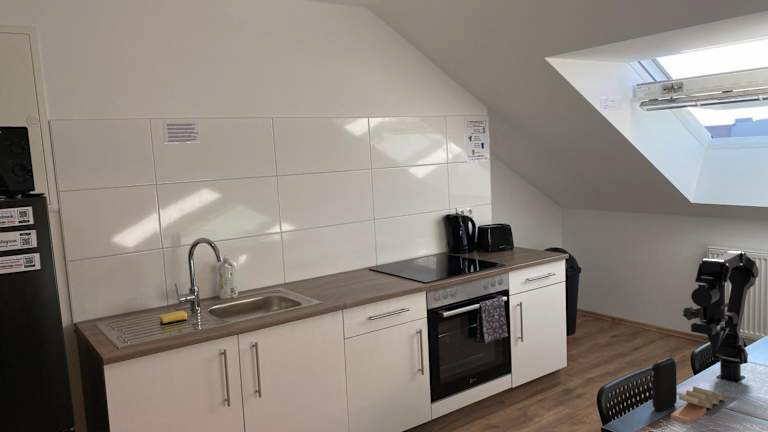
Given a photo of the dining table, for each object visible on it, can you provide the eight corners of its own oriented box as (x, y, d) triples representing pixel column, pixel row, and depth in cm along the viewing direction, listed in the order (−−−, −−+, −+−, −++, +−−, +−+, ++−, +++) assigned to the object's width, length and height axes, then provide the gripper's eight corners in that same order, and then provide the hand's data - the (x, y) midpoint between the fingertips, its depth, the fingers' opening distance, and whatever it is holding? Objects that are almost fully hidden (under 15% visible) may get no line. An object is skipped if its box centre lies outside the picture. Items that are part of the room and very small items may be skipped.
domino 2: (688, 402, 172) (670, 414, 166) (706, 407, 168) (688, 419, 162) (688, 407, 173) (670, 419, 167) (706, 412, 169) (689, 425, 163)
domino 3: (701, 394, 177) (686, 389, 171) (719, 399, 173) (704, 394, 167) (700, 399, 177) (685, 395, 171) (718, 404, 173) (703, 400, 167)
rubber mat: (706, 391, 183) (706, 390, 183) (737, 400, 176) (737, 398, 176) (678, 408, 173) (678, 407, 173) (711, 418, 166) (711, 416, 166)
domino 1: (695, 398, 175) (679, 393, 169) (713, 403, 171) (697, 398, 165) (694, 403, 175) (678, 399, 169) (711, 408, 171) (696, 404, 165)
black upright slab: (657, 416, 169) (656, 366, 168) (647, 412, 172) (646, 363, 170) (679, 405, 175) (678, 357, 173) (669, 402, 177) (668, 354, 176)
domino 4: (708, 390, 180) (693, 386, 174) (725, 395, 176) (711, 390, 170) (707, 396, 179) (692, 391, 174) (724, 400, 175) (710, 396, 170)
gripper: (701, 290, 193) (702, 337, 194) (672, 301, 182) (673, 351, 183) (738, 295, 184) (738, 344, 186) (711, 307, 173) (711, 359, 174)
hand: (714, 349), depth 182 cm, fingers closed
